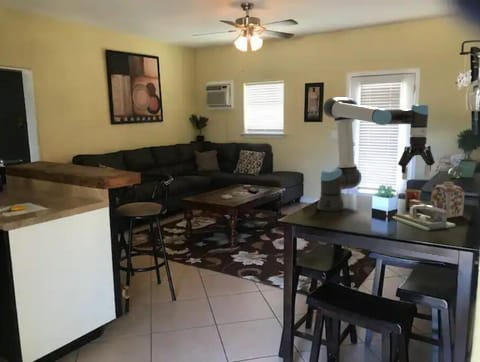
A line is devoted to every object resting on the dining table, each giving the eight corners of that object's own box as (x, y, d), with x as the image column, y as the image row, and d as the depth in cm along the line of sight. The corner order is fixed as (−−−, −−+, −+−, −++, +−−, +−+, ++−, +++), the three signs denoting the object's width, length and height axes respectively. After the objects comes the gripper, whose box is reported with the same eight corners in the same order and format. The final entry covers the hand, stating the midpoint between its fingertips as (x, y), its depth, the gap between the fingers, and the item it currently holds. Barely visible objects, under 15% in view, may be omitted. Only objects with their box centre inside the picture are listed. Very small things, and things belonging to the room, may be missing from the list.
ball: (417, 221, 193) (417, 214, 193) (422, 220, 194) (422, 214, 194) (422, 222, 190) (422, 216, 190) (427, 222, 191) (427, 215, 191)
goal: (419, 226, 188) (420, 220, 187) (435, 224, 191) (436, 218, 190) (429, 230, 182) (430, 223, 182) (445, 227, 185) (446, 221, 185)
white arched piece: (398, 214, 206) (399, 201, 205) (413, 212, 209) (414, 199, 208) (430, 224, 186) (431, 209, 185) (445, 222, 190) (447, 207, 188)
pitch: (392, 218, 203) (392, 213, 202) (418, 215, 209) (419, 210, 208) (426, 230, 181) (426, 225, 181) (455, 226, 187) (455, 221, 187)
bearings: (430, 222, 195) (430, 211, 194) (434, 221, 196) (435, 211, 195) (441, 226, 188) (442, 215, 187) (446, 225, 189) (447, 214, 188)
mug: (402, 206, 231) (403, 189, 230) (417, 206, 230) (418, 189, 228) (407, 210, 220) (408, 193, 218) (423, 211, 218) (424, 193, 216)
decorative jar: (447, 218, 202) (450, 184, 199) (429, 213, 213) (431, 181, 210) (463, 215, 207) (466, 182, 204) (445, 211, 217) (447, 179, 215)
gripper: (402, 137, 183) (400, 181, 187) (444, 135, 190) (441, 178, 194) (392, 136, 190) (390, 179, 194) (432, 135, 198) (430, 176, 201)
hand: (415, 178), depth 194 cm, fingers open, 13 cm apart
